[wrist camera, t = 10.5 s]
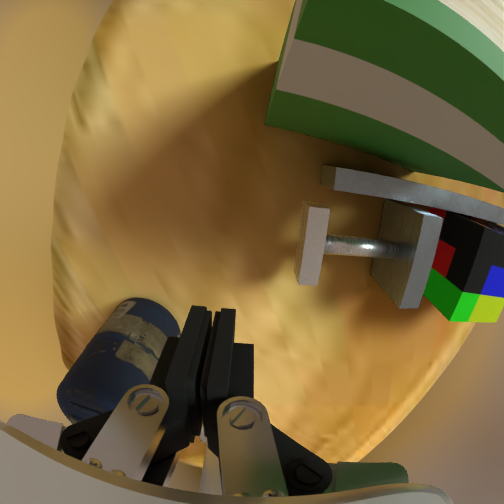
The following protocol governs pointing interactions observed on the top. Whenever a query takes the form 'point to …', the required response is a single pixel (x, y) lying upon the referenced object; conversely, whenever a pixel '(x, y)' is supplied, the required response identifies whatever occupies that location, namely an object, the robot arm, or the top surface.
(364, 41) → the hardback book
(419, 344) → the top surface
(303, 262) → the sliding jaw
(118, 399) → the canister
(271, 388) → the top surface
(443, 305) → the puzzle toy
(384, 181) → the vise body
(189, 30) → the top surface
